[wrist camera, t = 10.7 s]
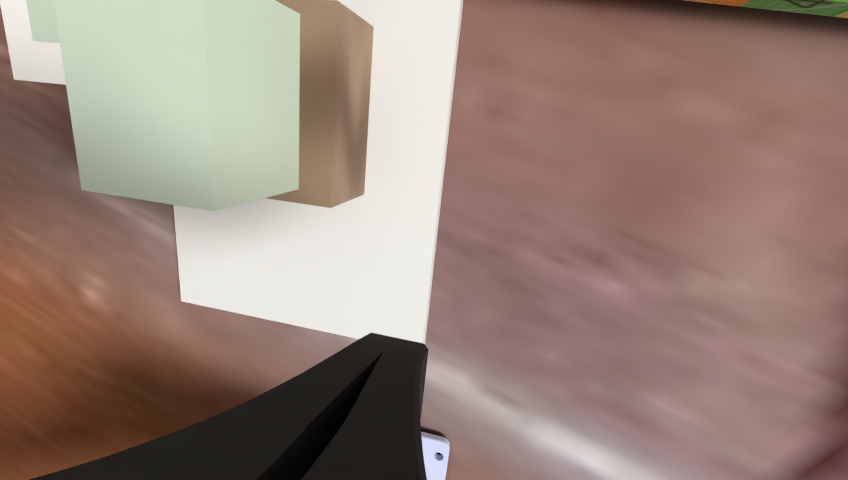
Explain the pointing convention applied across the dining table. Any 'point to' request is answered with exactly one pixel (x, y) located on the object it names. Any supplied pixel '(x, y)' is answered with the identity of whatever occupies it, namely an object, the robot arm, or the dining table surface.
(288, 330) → the dining table surface
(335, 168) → the walnut brick
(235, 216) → the plate
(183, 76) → the sage brick
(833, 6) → the puzzle game
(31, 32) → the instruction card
